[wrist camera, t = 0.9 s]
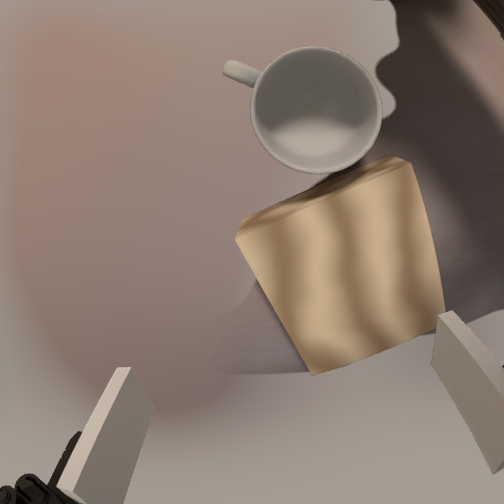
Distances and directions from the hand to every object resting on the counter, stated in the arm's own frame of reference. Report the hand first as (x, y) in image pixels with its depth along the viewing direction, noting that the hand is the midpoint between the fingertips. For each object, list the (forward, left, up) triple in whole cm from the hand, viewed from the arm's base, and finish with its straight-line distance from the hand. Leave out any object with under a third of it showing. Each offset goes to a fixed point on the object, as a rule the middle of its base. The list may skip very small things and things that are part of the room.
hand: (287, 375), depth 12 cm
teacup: (-6, -10, -24) cm, 27 cm away
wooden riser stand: (-4, +9, -24) cm, 26 cm away
